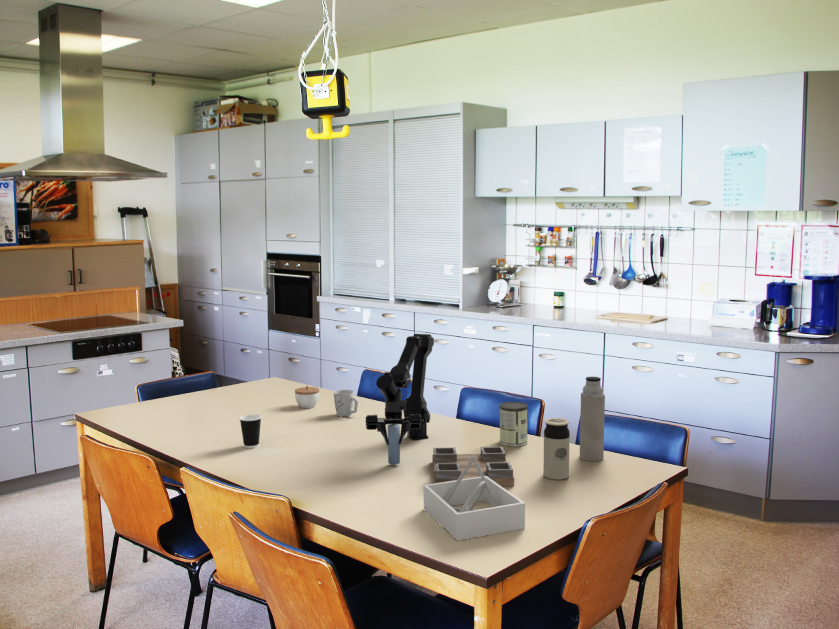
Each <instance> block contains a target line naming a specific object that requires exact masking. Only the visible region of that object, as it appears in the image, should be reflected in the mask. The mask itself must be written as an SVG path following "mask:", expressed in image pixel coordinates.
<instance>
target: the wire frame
mask: <svg viewBox="0 0 839 629" xmlns="http://www.w3.org/2000/svg"><path fill="white" fill-rule="evenodd" d="M473 462H474V464H475V466H476V468H477V470H478V472H479V474H480V477H481V479H482V482H481V483H479V485H478V486H477V487H476V488H475V489H474V490H473V492H472V493H471V494H470V496H469V497H468V499H467V500H466V502H465V503H464V504H462V507H461V506H455V505H453V506H451V507H452V508H453V509H454V510H456V511H457V510H458V511H459V512H458V511H457V512H458V513H461V512H467V511H473V510H479V509H477V508H474V506H475V505H476V503H478V501H477V500H478V499H479V497H480V495H481V494H482V492H483V491H484V489H485V488H486V489H487V491H488V493H489V495H490V497H491V500H492V502H493V504H494V506H495V507H497V506H498V504H497V502H496V500H495V498H494V496H493V494H492V491H491V489H490V487H489V485H488V483H487V481H486V479H485V477H484V475H483V473H482V471H481V468H480V466H479V464H478V462H477V460H476V458H475V456H474V455H473V456H472V458H471V459H470V461H469V462H468V464H467V465H466V467H465V469H464V470H463V472H462V473H461V475H460V476H459V478H458V480H457V481H456V483H455V484H454V486H453V487H452V489H451V490H450V492H449V494H448V495H447V497H446V498H445V500H444V501H445V502H446V503H447V502H448V500H449V498H450V497H451V495H452V494H453V492H454V491H455V489H456V488H457V486H458V484H459V483H460V481H461V480H462V478H463V477H464V475H465V474H466V472H467V470H468V469H469V467H470V466H471V464H472V463H473ZM479 489H480V490H479ZM478 490H479V491H478ZM477 491H478V493H477ZM476 493H477V495H476V496H475V498H474V499H473V501H472V502H471V503H469V502H470V501H471V500H472V498H473V497H474V495H475V494H476Z"/></svg>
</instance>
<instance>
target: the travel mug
mask: <svg viewBox="0 0 839 629" xmlns="http://www.w3.org/2000/svg"><path fill="white" fill-rule="evenodd" d="M544 423H545V428H544V430H543V474H542V475H543V476H544V477H545V478H547V479H549V480H555V481H562V480H566V479H568V478H569V477H570V442H571V441H570V440H571V439H570V438H571V437H570V429H569V426H568V425H569V423H570V421H569V420H567V419H566V418H562V417H561V418H560V417H550V418H546V419H545V420H544Z"/></svg>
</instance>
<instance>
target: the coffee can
mask: <svg viewBox="0 0 839 629" xmlns="http://www.w3.org/2000/svg"><path fill="white" fill-rule="evenodd" d="M528 409H529V405H528V404H527V403H525V402H520V401H507V402H501V403H499V443H500V444H501V445H503V446H506V447H523V446H525V445H527V444H528Z"/></svg>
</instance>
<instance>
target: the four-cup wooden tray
mask: <svg viewBox="0 0 839 629" xmlns="http://www.w3.org/2000/svg"><path fill="white" fill-rule="evenodd" d="M473 455H474V456H475V458H476V460H477V462H478V464H479V466H480V468H481V471H482V473H483V475H484V476H487V477H489V478H490V479H491V480H493V481H494V482H496V483H497V484H499V485H500V486H501V487H515V477H514V468H513V467H512V465H511V463H510V461H507V458H506V450H505V449H504V447H503V446H480V453H465V454H464V453H463V454H462V453H459V454H458V453H457V449H456V447H433V450H432V456H431V458H432V469H433V476H434V477H433V478H434V484H435V483H441V482H448V481H455V480H458V478H459V476H460V475H461V473H462V472H463V470H464V469H465V467H466V465H467V464H468V462H469V461H470V459H471V458H472V456H473ZM475 477H480V474H479V472H478V470H477V468H476V466H475V464H474V462H473V463H472V464H471V466H470V467H469V469H468V470H467V472H466V474H465V475H464V477H463V478H462V479H468V478H475Z"/></svg>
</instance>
